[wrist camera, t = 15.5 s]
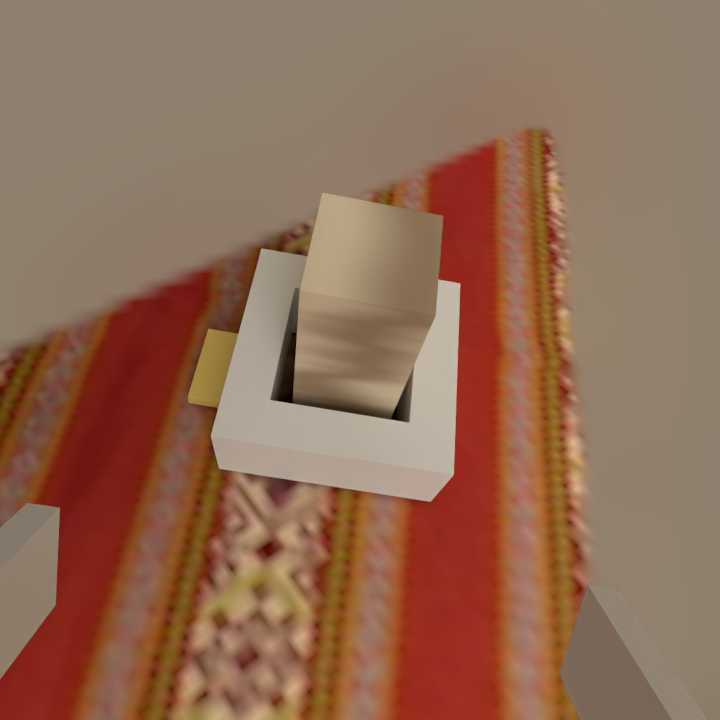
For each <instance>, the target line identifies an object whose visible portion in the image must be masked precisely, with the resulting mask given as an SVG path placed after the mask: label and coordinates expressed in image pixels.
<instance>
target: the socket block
mask: <svg viewBox="0 0 720 720" xmlns="http://www.w3.org/2000/svg"><path fill="white" fill-rule="evenodd" d="M307 257H308V256H302V255H296V254H291V253H285V252H279V251H274V250H268V249H261V252H260V256H259V260H258V263H257V267H256V271H255V275H254V278H253V282H252V286H251V289H250V293H249V297H248V300H247V304H246V308H245V311H244V315H243V319H242V322H241V326H240V330H239V334H237V333H231V332H225V331H219V330H213V329H208V332H207V335H206V338H205V342H204V345H203V348H202V351H201V355H200V358H199V361H198V364H197V368H196V371H195V374H194V378H193V381H192V384H191V387H190V391H189V394H188V397H187V398H188V402H189V403H191V404H197V405H203V406H210V407H216V408H218V411H217V415H216V418H215V422H214V426H213V429H212V433H211V439H212V443H213V447H214V451H215V455H216V459H217V463H218V467H219V469H224V470H230V471H236V472H243V473H249V474H256V475H262V476H268V477H275V478H281V479H288V480H294V481H300V482H307V483H313V484H320V485H326V486H333V487H339V488H345V489H352V490H358V491H365V492H371V493H377V494H384V495H390V496H397V497H403V498H410V499H416V500H422V501H429V502H431V501H432V500H433V498H434V497H435V496H436V495H437V494H438V493H439V491H440V490H441V489H442V488H443V487H444V486H445V484H446V483H447V482H448V481H449V480H450V479H451V477H452V476H453V475H454V451H455V422H456V393H457V363H458V334H459V305H460V283H454V282H449V281H443V280H438V292H437V305H436V316H435V318H434V321H433V323H432V325H431V327H430V330H429V332H428V334H427V337H426V339H425V341H424V343H423V346H422V348H421V350H420V353H419V355H418V357H417V360H416V362H415V364H414V366H413V369H412V371H411V373H410V376H409V378H408V380H407V382H406V385H405V387H404V389H403V392H402V394H401V396H400V398H399V401H398V404H397V415H396V420H390V419H384V418H378V417H371V416H365V415H359V414H353V413H347V412H341V411H335V410H329V409H322V408H316V407H310V406H304V405H298V404H292V403H286V402H279V401H278V399H279V394H280V389H281V384H282V380H283V375H284V370H285V366H286V361H287V356H288V352H289V347H290V342H291V338H292V333H297V324H298V309H299V293H300V287H301V282H302V278H303V274H304V269H305V265H306V261H307Z"/></svg>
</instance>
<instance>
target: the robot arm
mask: <svg viewBox="0 0 720 720" xmlns="http://www.w3.org/2000/svg"><path fill="white" fill-rule="evenodd" d="M59 516H60V508H58V507H51V506H45V505H38V504H31V503H27V504H25V505H24V506H23V507H22V508H21V509H20V510H19V511H18V512H17V513H16V514H15V515H13V516H12V517H11V518H10V519H9V520H8V521H7V522H6V523H5V524H4V525H2V526H1V527H0V679H1V678H2V676H3V675H4V674H5V672H6V671H7V670H8V668H9V667H10V665H11V664H12V663H13V661H14V660H15V659H16V657H17V656H18V655H19V653H20V652H21V651H22V649H23V648H24V647H25V645H26V644H27V643H28V641H29V640H30V639H31V637H32V636H33V635H34V633H35V632H36V631H37V629H38V628H39V626H40V625H41V624H42V622H43V621H44V620H45V618H46V617H47V616H48V614H49V613H50V612H51V610H52V609H53V608H54V606H55V605H56V585H57V562H58V539H59ZM559 674H560V677H561V679H562V681H563V683H564V686H565V688H566V690H567V692H568V695H569V697H570V699H571V701H572V704H573V706H574V708H575V710H576V713H577V715H578V717H579V719H580V720H707V719H706V718H705V716H704V715H703V713H702V711H701V710H700V709H699V707H698V706H697V704H696V703H695V701H694V700H693V698H692V697H691V696H690V694H689V693H688V691H687V690H686V688H685V687H684V685H683V684H682V683H681V681H680V680H679V678H678V677H677V675H676V674H675V672H674V671H673V670H672V668H671V667H670V665H669V664H668V662H667V661H666V659H665V658H664V657H663V655H662V654H661V652H660V651H659V649H658V648H657V646H656V645H655V644H654V642H653V641H652V639H651V638H650V637H649V635H648V633H647V632H646V631H645V629H644V628H643V626H642V625H641V624H640V622H639V620H638V619H637V618H636V617H635V615H634V613H633V612H632V610H631V609H630V607H629V606H628V605H627V603H626V602H625V600H624V599H623V597H622V596H621V594H620V593H619V592H618V590H617V589H610V588H603V587H596V586H589V585H588V587H587V590H586V593H585V596H584V599H583V602H582V605H581V609H580V612H579V615H578V618H577V621H576V624H575V627H574V630H573V633H572V636H571V639H570V642H569V645H568V648H567V651H566V655H565V658H564V661H563V664H562V667H561V670H560V673H559Z"/></svg>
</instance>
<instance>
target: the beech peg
mask: <svg viewBox="0 0 720 720" xmlns="http://www.w3.org/2000/svg"><path fill="white" fill-rule="evenodd" d="M442 227H443V216H441V215H436V214H431V213H426V212H421V211H415V210H410V209H405V208H400V207H395V206H390V205H384V204H379V203H374V202H369V201H364V200H359V199H353V198H348V197H343V196H338V195H333V194H327V193H322V197H321V201H320V205H319V209H318V214H317V218H316V222H315V226H314V231H313V235H312V239H311V244H310V248H309V252H308V257H307V261H306V265H305V269H304V274H303V278H302V282H301V287H300V293H299V309H298V324H297V340H296V356H295V372H294V388H293V404H298V405H304V406H310V407H316V408H322V409H329V410H335V411H341V412H347V413H353V414H359V415H365V416H371V417H378V418H384V419H391V417H392V415H393V412H394V410H395V408H396V405H397V403H398V401H399V398H400V396H401V394H402V392H403V389H404V387H405V385H406V382H407V380H408V378H409V376H410V373H411V371H412V369H413V366H414V364H415V362H416V360H417V357H418V355H419V353H420V350H421V348H422V346H423V343H424V341H425V339H426V337H427V334H428V332H429V330H430V327H431V325H432V323H433V321H434V318H435V316H436V305H437V292H438V279H439V266H440V253H441V240H442Z"/></svg>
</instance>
